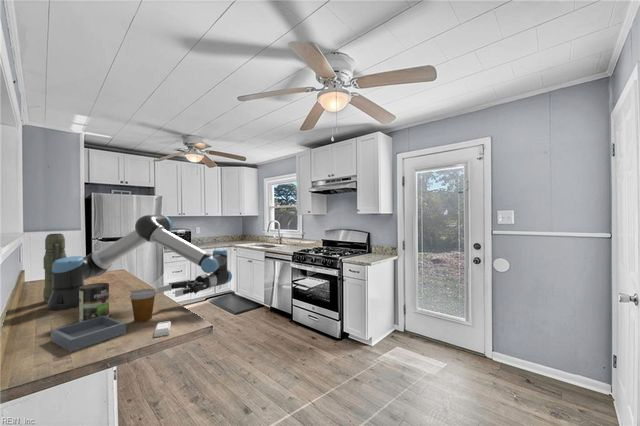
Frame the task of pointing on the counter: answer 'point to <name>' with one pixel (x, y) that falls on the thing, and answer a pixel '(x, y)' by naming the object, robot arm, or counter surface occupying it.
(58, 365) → the counter surface
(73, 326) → the square open box
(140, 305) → the disposable coffee cup
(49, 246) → the thermos
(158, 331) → the white light switch
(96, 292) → the coffee can
